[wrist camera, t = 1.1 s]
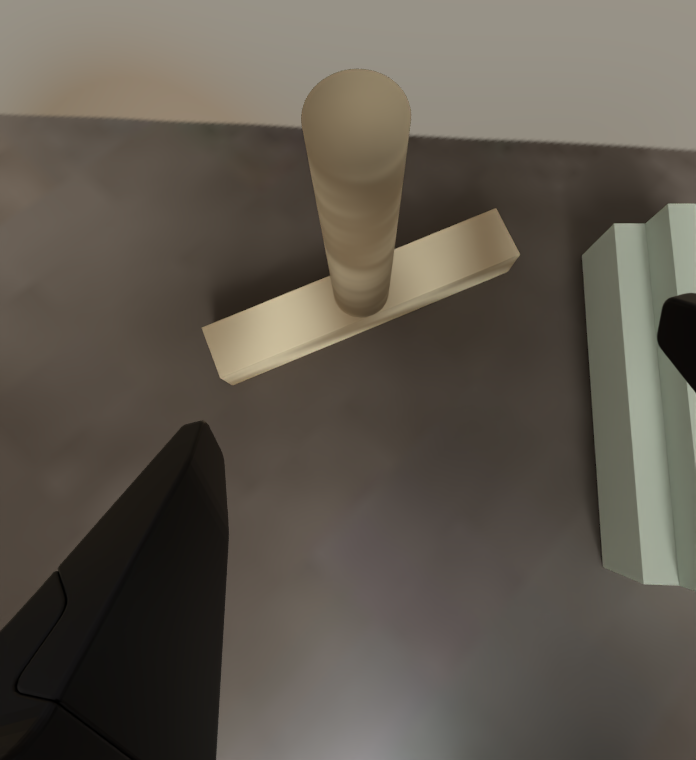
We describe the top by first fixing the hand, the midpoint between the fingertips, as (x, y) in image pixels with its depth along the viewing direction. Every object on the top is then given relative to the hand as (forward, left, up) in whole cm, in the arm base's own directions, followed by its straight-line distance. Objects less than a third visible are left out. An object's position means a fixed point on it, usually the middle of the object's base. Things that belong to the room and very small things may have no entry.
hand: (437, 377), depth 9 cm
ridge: (-8, -8, -12) cm, 17 cm away
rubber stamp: (+5, -4, -13) cm, 14 cm away
